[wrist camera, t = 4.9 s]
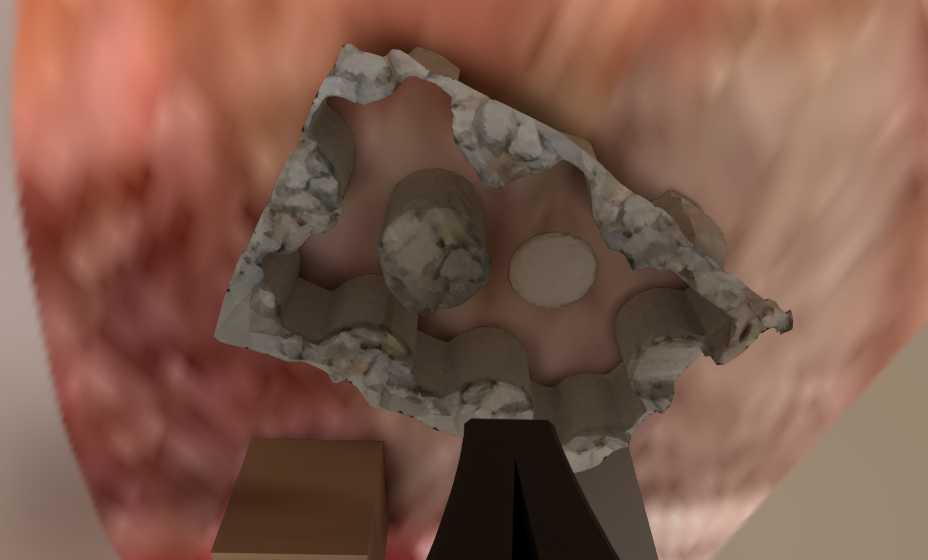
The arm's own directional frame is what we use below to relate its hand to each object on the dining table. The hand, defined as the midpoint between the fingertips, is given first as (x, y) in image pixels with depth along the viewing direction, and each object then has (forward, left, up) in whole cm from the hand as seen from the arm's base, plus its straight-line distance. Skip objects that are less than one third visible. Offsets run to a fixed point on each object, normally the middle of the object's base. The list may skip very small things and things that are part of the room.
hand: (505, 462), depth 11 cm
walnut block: (-9, +5, -7) cm, 12 cm away
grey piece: (0, 0, -7) cm, 7 cm away
